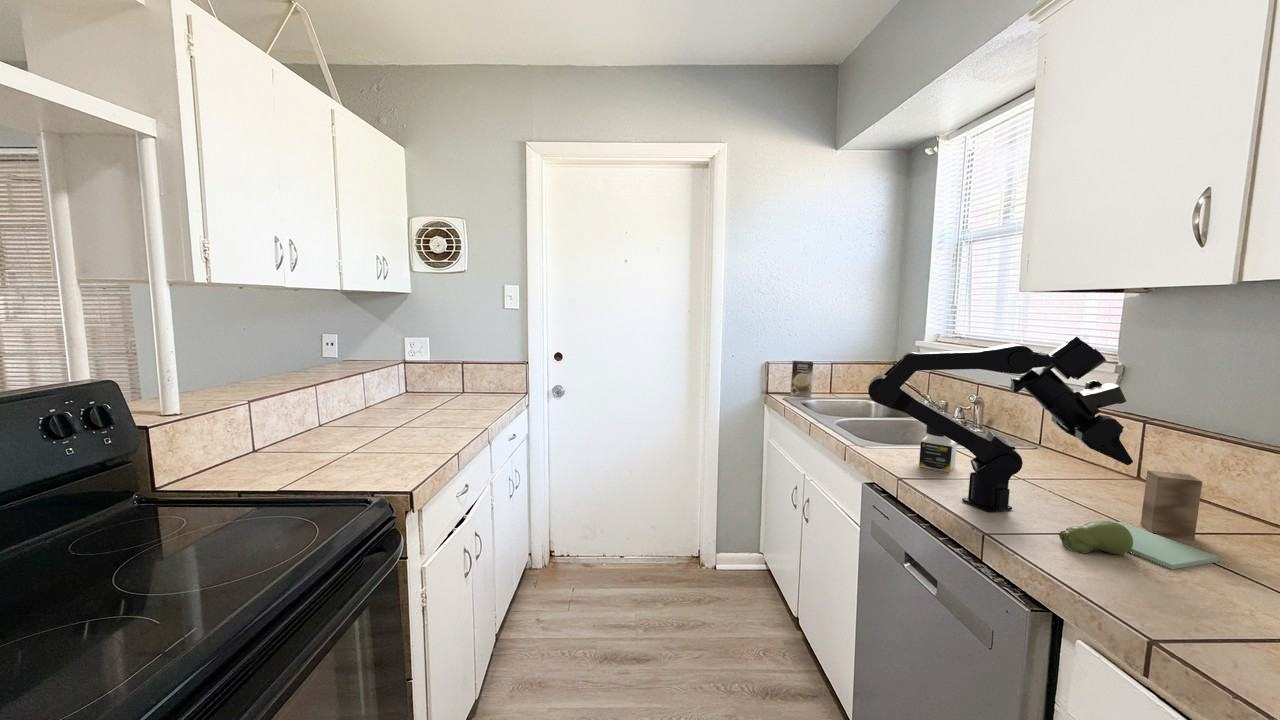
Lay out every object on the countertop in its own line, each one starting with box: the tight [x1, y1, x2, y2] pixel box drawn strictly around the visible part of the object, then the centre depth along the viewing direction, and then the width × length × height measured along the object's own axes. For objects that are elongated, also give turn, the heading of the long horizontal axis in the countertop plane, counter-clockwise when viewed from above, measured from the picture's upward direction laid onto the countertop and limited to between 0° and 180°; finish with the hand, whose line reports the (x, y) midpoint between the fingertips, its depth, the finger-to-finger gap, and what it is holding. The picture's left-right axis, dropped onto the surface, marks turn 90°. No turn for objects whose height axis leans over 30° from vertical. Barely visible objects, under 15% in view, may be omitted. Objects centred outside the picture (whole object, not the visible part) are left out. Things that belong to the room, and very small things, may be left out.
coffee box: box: [790, 360, 814, 399], centre depth 233 cm, size 9×6×16 cm
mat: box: [1115, 521, 1220, 570], centre depth 90 cm, size 14×11×1 cm
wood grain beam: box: [1140, 469, 1203, 541], centre depth 95 cm, size 6×4×11 cm, turn 65°
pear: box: [1058, 520, 1133, 555], centre depth 88 cm, size 6×5×10 cm
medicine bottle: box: [918, 425, 958, 473], centre depth 132 cm, size 7×7×12 cm
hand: (1119, 456), depth 97 cm, fingers open, 9 cm apart
